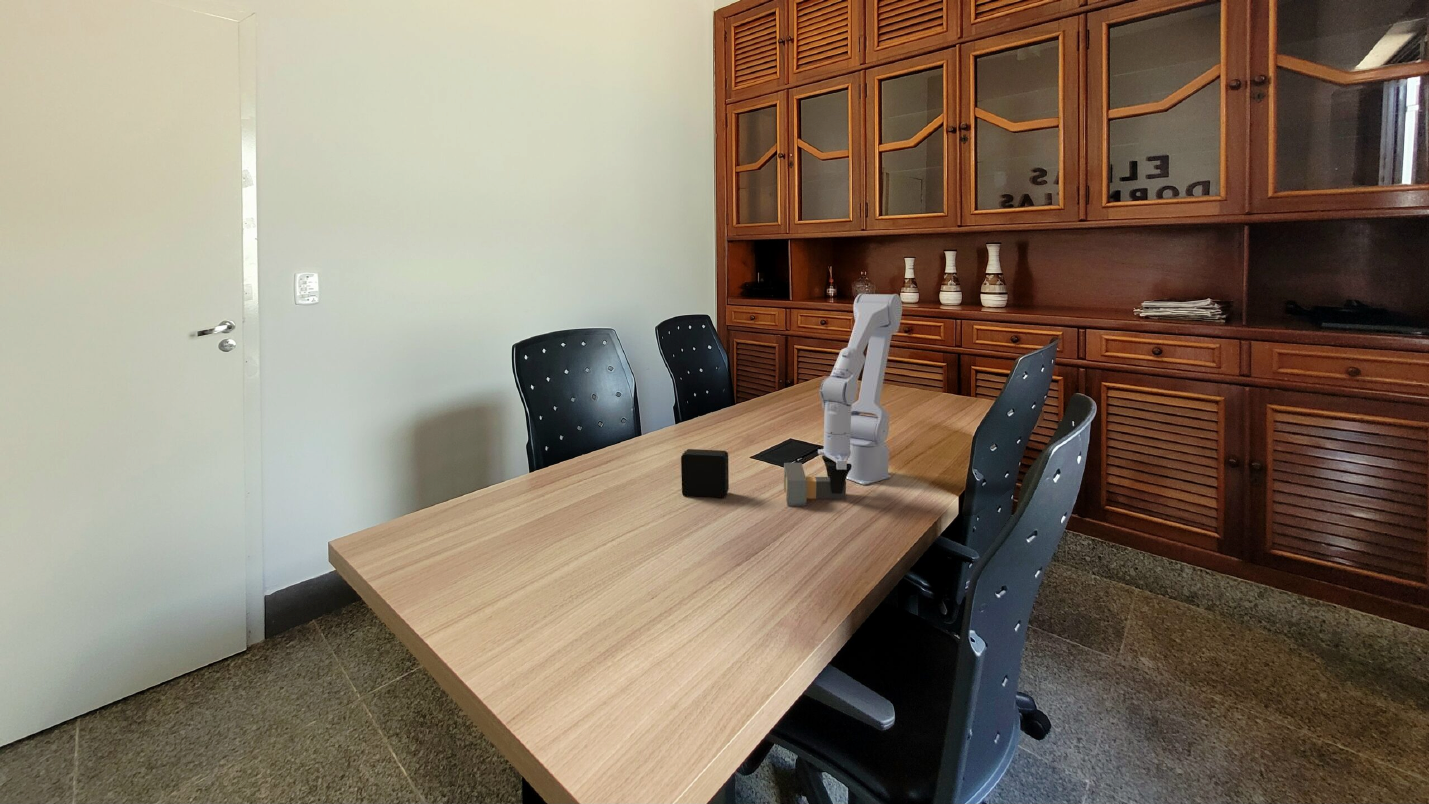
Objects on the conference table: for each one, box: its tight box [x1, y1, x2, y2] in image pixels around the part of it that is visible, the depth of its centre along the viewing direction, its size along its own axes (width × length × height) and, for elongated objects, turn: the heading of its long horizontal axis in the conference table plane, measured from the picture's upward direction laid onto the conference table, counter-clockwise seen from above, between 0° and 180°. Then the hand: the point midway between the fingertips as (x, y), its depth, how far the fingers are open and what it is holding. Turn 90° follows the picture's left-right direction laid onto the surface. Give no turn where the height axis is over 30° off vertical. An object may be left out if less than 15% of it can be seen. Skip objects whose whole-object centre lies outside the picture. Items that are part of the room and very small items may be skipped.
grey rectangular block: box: [783, 462, 807, 507], centre depth 136 cm, size 4×12×6 cm, turn 177°
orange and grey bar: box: [786, 476, 847, 500], centre depth 136 cm, size 13×3×4 cm, turn 87°
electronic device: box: [680, 448, 730, 500], centre depth 137 cm, size 4×10×10 cm, turn 78°
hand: (835, 490), depth 136 cm, fingers closed on orange and grey bar, 3 cm apart
